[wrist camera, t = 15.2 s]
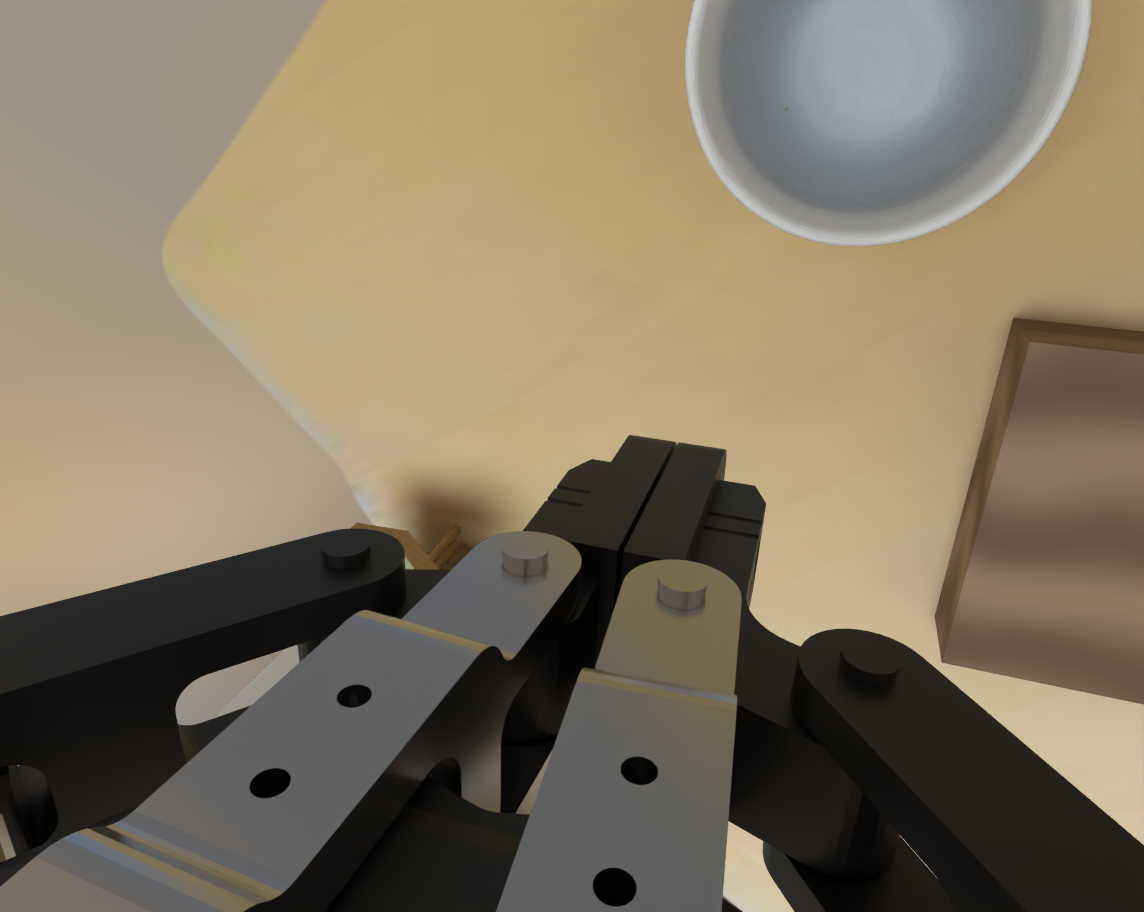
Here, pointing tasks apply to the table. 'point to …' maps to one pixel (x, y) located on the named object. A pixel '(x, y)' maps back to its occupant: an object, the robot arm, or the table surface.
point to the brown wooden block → (1055, 518)
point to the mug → (877, 106)
